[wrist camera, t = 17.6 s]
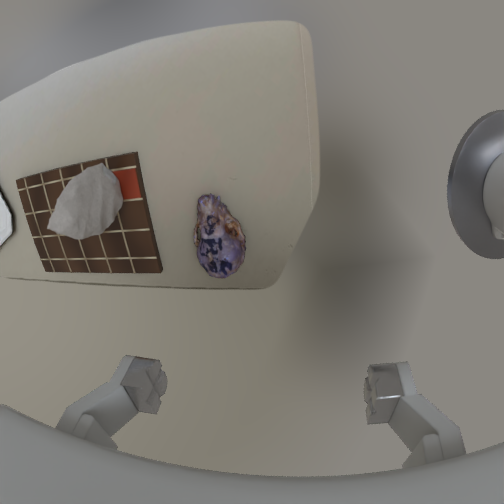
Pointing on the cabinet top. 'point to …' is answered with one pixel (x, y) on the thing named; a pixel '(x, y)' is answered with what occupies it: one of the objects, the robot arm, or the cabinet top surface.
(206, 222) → the skull
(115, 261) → the board
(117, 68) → the cabinet top surface
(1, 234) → the plate
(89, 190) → the stone tool
